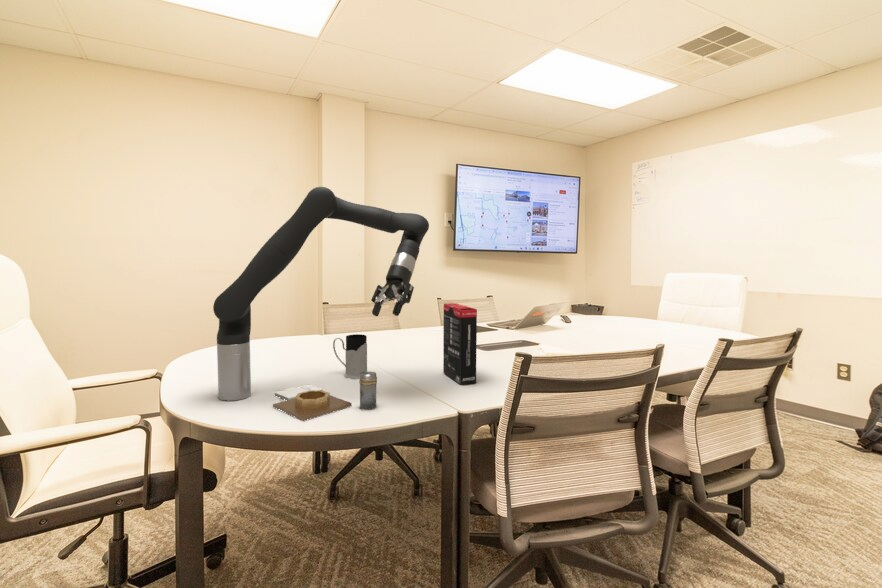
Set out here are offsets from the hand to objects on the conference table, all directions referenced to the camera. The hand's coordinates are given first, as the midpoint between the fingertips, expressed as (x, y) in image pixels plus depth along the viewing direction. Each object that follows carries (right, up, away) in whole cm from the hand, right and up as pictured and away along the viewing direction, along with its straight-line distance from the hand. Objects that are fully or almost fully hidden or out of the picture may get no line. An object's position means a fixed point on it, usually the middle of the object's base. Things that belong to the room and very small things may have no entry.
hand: (384, 314), depth 131 cm
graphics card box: (+24, -25, +28) cm, 44 cm away
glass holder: (-17, -24, +31) cm, 43 cm away
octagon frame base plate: (-21, -27, -4) cm, 34 cm away
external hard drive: (-29, -26, +8) cm, 40 cm away
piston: (-4, -27, -3) cm, 28 cm away
